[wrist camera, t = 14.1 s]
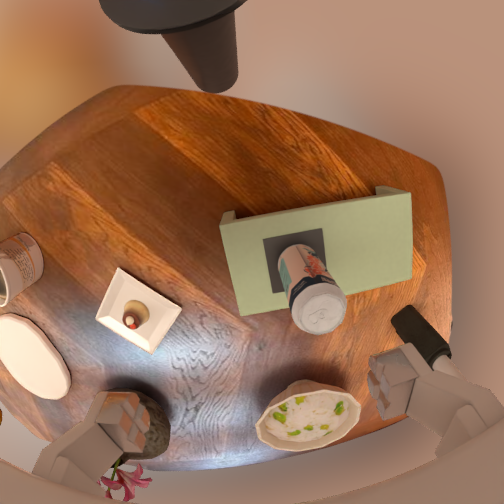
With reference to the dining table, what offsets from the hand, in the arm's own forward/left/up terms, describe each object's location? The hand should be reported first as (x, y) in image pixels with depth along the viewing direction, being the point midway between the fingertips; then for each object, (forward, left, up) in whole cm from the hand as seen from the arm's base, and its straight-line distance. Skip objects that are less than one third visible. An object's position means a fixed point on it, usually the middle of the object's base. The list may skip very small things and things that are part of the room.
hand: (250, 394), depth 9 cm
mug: (-1, -43, -33) cm, 54 cm away
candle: (+25, +25, -33) cm, 48 cm away
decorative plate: (+22, -57, -33) cm, 69 cm away
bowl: (+37, +4, -33) cm, 50 cm away
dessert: (+13, -21, -33) cm, 41 cm away
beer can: (+6, +5, -25) cm, 26 cm away
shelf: (+6, +9, -33) cm, 34 cm away
